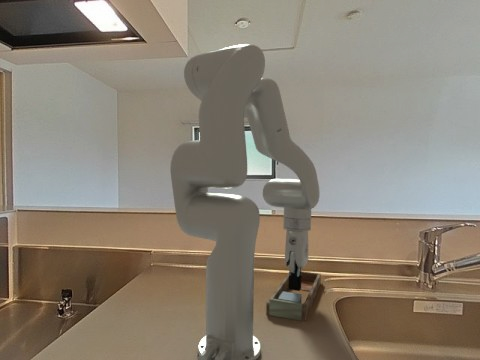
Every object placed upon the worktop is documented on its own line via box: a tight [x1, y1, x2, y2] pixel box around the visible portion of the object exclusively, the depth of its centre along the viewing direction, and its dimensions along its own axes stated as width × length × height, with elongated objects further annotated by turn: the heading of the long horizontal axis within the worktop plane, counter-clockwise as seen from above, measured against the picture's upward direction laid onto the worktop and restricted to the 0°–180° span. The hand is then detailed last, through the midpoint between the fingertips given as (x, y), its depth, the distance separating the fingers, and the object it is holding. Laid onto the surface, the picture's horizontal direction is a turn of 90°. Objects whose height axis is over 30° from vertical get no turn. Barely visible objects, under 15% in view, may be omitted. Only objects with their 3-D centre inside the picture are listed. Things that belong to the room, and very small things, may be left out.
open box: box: [265, 271, 322, 322], centre depth 94 cm, size 28×10×4 cm, turn 158°
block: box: [278, 291, 303, 303], centre depth 85 cm, size 5×5×4 cm
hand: (294, 289), depth 92 cm, fingers closed
